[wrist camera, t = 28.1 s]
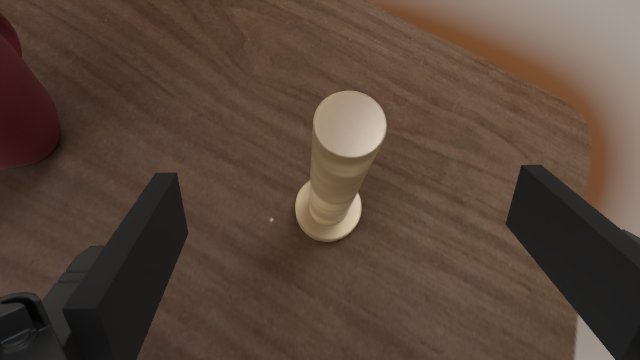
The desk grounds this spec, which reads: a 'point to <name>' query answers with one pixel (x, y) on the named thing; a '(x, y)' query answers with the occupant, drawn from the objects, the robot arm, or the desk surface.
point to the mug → (22, 107)
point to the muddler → (339, 164)
